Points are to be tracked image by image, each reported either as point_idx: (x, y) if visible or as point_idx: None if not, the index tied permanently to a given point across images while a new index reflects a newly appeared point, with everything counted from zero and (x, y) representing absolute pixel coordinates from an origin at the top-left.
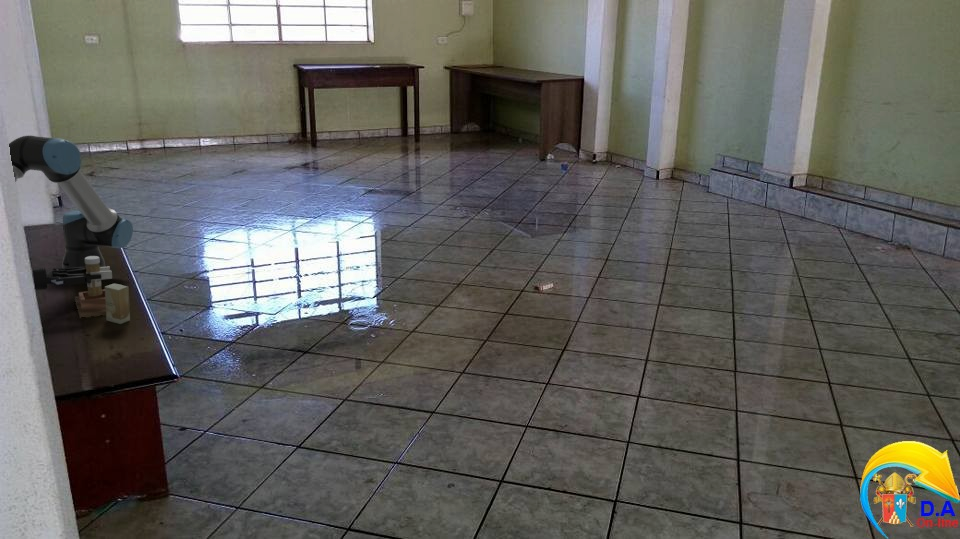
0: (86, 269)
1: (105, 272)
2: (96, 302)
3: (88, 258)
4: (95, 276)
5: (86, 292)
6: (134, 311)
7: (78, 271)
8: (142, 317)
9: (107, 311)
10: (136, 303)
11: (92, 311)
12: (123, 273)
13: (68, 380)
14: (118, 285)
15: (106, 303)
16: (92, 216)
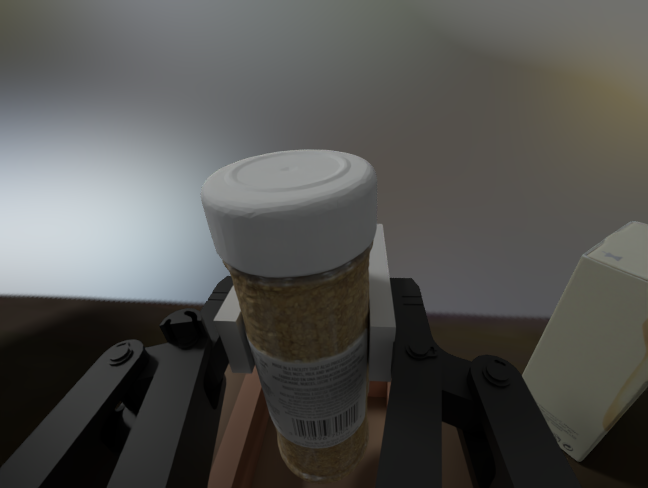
0: (316, 334)
1: (384, 251)
2: None
3: (324, 181)
4: (423, 320)
5: (232, 482)
6: (437, 332)
7: (188, 443)
8: (512, 321)
9: (613, 425)
10: None
11: None
12: (20, 298)
13: None
14: (638, 244)
15: (637, 396)
16: None
